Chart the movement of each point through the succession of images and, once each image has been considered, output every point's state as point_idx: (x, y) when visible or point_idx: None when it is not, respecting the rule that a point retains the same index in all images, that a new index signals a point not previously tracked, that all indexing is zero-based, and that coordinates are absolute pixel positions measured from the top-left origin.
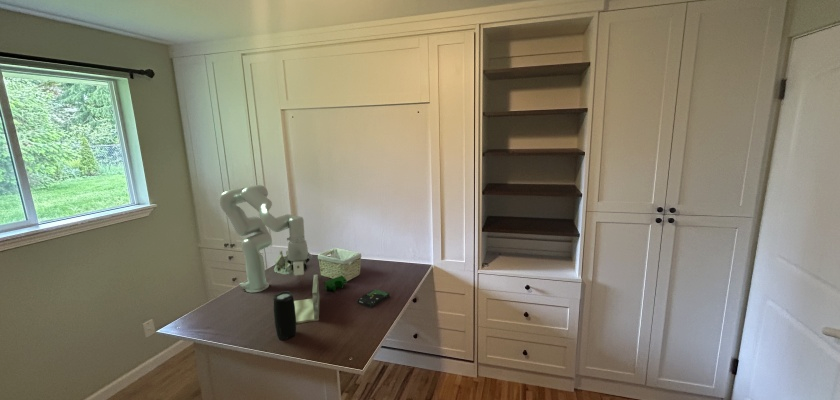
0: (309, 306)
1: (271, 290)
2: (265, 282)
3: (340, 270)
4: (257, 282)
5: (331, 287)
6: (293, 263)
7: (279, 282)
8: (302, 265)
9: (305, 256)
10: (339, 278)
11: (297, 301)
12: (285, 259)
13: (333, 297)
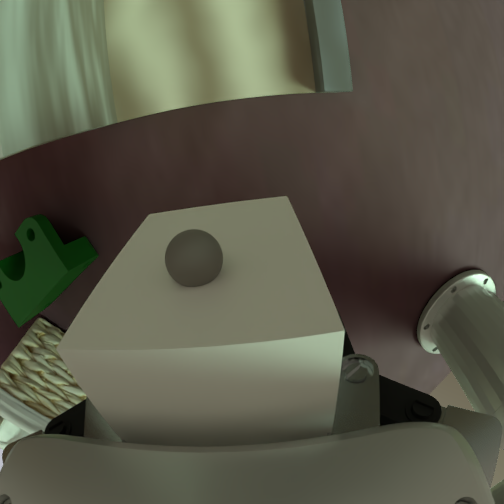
0: (138, 12)
1: (410, 285)
2: (440, 332)
3: (39, 372)
4: (481, 310)
5: (33, 216)
6: (329, 326)
7: (373, 357)
8: (98, 296)
9: (15, 490)
10: (18, 302)
11: (235, 83)
12: (483, 432)
13: (34, 151)
